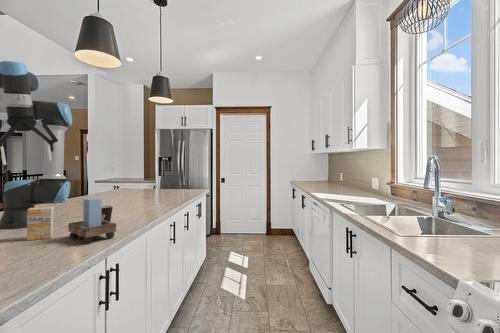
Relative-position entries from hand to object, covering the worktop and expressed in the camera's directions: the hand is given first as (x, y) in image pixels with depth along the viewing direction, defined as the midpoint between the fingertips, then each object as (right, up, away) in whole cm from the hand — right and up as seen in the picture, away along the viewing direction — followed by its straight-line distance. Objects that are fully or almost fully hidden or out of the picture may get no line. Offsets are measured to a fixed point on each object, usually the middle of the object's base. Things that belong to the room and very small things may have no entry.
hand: (28, 162), depth 100 cm
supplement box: (-3, -33, +9) cm, 34 cm away
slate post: (+18, -28, +11) cm, 35 cm away
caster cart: (+18, -33, +11) cm, 39 cm away
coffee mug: (+9, -33, +33) cm, 47 cm away
